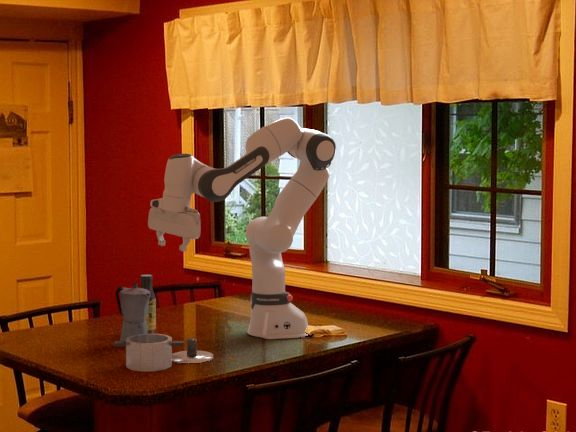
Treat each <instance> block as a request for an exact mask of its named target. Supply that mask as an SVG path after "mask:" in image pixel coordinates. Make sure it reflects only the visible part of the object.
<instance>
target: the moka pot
mask: <svg viewBox="0 0 576 432" xmlns="http://www.w3.org/2000/svg"><path fill="white" fill-rule="evenodd" d="M138 285H139V283H138V282H134V283H132V286H133V287H129V288H128V287H126V286H125V287H123V286H121V285H119V286H118V288H117V289H116V290H115V299H116V303H117V307H118V312H119V313H118V314H120V315H121V316H123V317H122V318H123V321H122V326H121V332H120V339H119V341H126V339H127V337H130V336H133V335H139V334H147V328H146V321H145V320H146V314H147V312H148V305H149V298H150V296H151V295H150V291H149V290H147V289H143V288H141V287H138Z"/></svg>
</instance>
